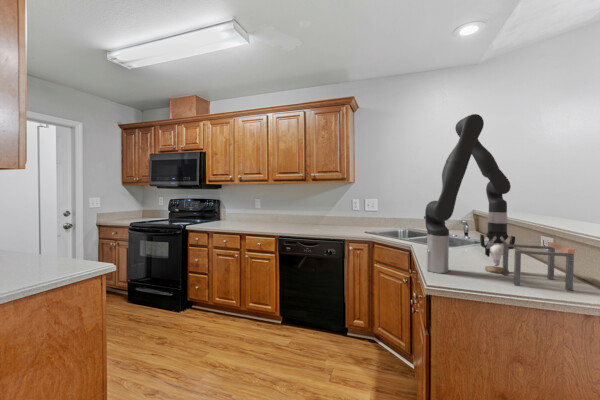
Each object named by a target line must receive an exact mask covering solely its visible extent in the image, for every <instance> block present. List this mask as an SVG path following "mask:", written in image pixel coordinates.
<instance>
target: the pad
mask: <svg viewBox="0 0 600 400" xmlns="http://www.w3.org/2000/svg"><path fill="white" fill-rule="evenodd" d="M502 269H503V266H502V267H501V266H495V265H494V266H493V265H488V266H485V268H484V270H485V271H486V272H489V273H493V274H498V275H503V274H502Z"/></svg>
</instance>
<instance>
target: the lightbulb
mask: <svg viewBox="0 0 600 400" xmlns="http://www.w3.org/2000/svg"><path fill="white" fill-rule="evenodd" d="M489 249H490V255H491V258H492V265H494V266H496V267H499V266H501V265H500V263H501V259H502V257H503V245H502V244H499V243H493V244H492V245H491V246H490V248H489Z"/></svg>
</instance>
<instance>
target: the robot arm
mask: <svg viewBox="0 0 600 400" xmlns="http://www.w3.org/2000/svg"><path fill="white" fill-rule="evenodd" d="M484 124H485V123H484V119H483V116H481V115H480V114H478V113H472V114H469V115H468V116H465V117H464V118H462V119H460V120H459V121H457V123H456V124H455V129H454V130H455V132H456V134H457V136H458V137H459V138H458V140H457V143H456V145H455V146H454V148H453V149H452V151H451V152H450V154H449V155H448V156H447V159H446V160H445V164H444V165H443V169H442V173H441V181H442V182H441V183H442V188H441V192H440V195H439V196H438V199H437V200H432V201H430V202H429V203H428V204H427V205H426V207H425V210H424V211H425V213H424V214H425V215H424V216H425V217H424V218H425V219H424V220H425V228H426V232H427V233H426V236H427V237H426V238H427V239H426V246H427V247H426V271H427V272H431V273H438V274H447V273H449V269H450V268H449V265H450V263H449V257H450V256H449V255H450V253H449V252H450V230H449V228H448V227H447V226H446V223H445V222H446V221H448V220H450V219H451V217H452V216H453V213H454V209H455V205H456V201H457V197H458V194H459V191H460V188H461V186H462V182H463V179H464V176H465V174H466V171H467V169H468V165H469V163H470V160H471V156H472V157H473V158H474V159H473V160H475V163H476V165H477V166H478V168H479V171H480V173H481V175H482V176H483V177H485V178H487V179H488V183H486V189H485V191H486V192H485V193H486V197H487V200H488V214H487V233H486V234H482V233H481V234H480V233H479V241H480V246H481V247H482V248H484V254H485V256H486V257H490V255H491V253H490V249H489V248H490V246H491V245H492V244H493V243H499V244H502V245H503V244H507V243H506V240H507V239H508V241H509V243H508V244H515V242H516V237H515V235H508V203H507V202H508V201H506V200H505V199H504V198H503V197H504V196H503V195H505V194H508V193H509V191H511V182H510V180H509V178H508V177H507V176H506V174H505V173H504V172H503V171H502V170H501V169H500V167H499V165H498V163H497V161H496V159H495V157H494V155H493V154H492V153H491V152H490V151H489V150H488V149H487V148H486V147H485V146H484V145H483V144H482V142H480V140H479V137H480V135H481V133H482V131H483V129H484V126H485V125H484ZM486 238H487V239H488V240H487V242H486V243H485V240H486ZM514 248H515V247H508V252H510V251H509V250H513V249H514ZM514 250H515V249H514Z"/></svg>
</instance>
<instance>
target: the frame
mask: <svg viewBox="0 0 600 400" xmlns="http://www.w3.org/2000/svg"><path fill="white" fill-rule="evenodd" d="M508 247H514V248H521V249H522V248H523V250H519V249H514V258H513V259H514V260H513V261H514V263H513V264H514V265H513V269H514V270H513V284H514V286H517V287H519V286H521V269H522V268H521V266H522V265H521V264H522V263H521V262H522V254H523V255H537V256H538V255H539V256H541V255H542V256H547V280H550V281H552V280H553V281H554V280H555V257H565V279H564V280H565V283H564V284H565V286H564V289H565V290H566V291H570V292H574V262H575V259H574V258H575V254H569V253H565V252H556V251H555V250H556V249H555V248H552V247H550V246H548V245H535V244H533V245H531V244H530V245H529V244H517V243H516V244H515V243H514V244H509V243H506V244H503V255H502V268H503V269H502V274H501V275H502V276H509V251H508ZM524 249H540V250H541V249H542V250H547V251H540V250H539V251H538V250H537V251H535V250H524Z"/></svg>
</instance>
